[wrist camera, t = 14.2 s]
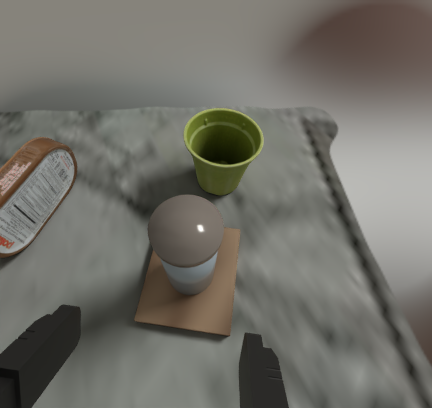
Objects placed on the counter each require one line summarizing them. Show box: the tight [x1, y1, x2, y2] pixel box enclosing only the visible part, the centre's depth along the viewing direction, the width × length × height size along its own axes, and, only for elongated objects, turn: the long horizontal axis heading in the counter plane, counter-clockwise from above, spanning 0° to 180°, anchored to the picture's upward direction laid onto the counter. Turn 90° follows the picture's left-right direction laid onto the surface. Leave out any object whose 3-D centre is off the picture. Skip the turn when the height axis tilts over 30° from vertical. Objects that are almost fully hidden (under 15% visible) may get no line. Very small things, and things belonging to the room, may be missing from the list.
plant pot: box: [184, 108, 264, 195], centre depth 34 cm, size 9×9×9 cm
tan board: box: [134, 227, 240, 336], centre depth 30 cm, size 10×12×1 cm
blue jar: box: [148, 195, 224, 295], centre depth 24 cm, size 6×6×12 cm
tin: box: [0, 137, 77, 258], centre depth 30 cm, size 15×3×8 cm, turn 163°
